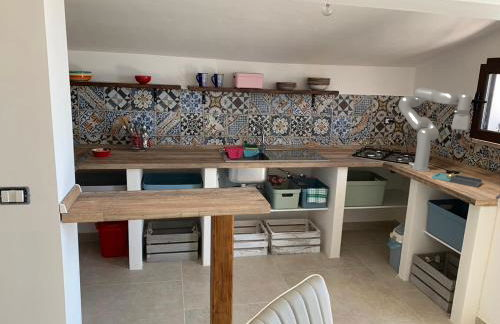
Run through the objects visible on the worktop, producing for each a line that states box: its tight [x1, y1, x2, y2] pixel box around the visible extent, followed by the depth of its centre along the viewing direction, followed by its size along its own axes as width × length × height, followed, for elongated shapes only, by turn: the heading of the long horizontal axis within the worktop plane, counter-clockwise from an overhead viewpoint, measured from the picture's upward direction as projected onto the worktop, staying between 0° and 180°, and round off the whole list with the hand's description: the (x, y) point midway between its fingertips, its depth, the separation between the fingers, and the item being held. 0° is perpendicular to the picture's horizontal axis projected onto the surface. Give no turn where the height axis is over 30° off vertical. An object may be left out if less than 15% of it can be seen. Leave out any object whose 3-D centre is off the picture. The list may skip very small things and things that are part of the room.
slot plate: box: [449, 174, 483, 188], centre depth 254 cm, size 16×14×3 cm
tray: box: [431, 172, 451, 183], centre depth 263 cm, size 12×14×2 cm
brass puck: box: [446, 172, 456, 179], centre depth 260 cm, size 5×5×2 cm
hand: (458, 139), depth 262 cm, fingers closed
